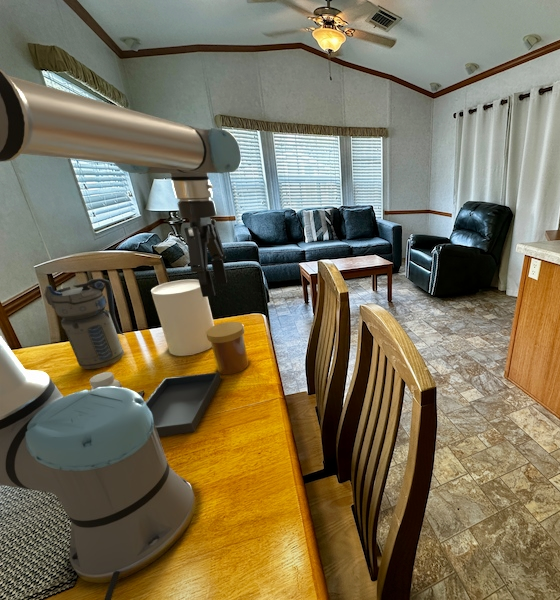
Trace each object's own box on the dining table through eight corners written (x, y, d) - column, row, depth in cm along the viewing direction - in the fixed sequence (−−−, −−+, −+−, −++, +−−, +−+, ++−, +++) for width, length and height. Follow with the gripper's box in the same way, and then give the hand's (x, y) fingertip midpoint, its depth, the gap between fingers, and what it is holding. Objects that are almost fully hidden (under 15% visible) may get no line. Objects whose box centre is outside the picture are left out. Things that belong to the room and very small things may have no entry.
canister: (160, 348, 104) (142, 289, 96) (203, 331, 114) (189, 277, 107) (183, 360, 97) (164, 297, 90) (226, 341, 108) (213, 283, 100)
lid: (239, 341, 87) (238, 335, 86) (202, 344, 85) (200, 338, 84) (247, 326, 95) (246, 320, 94) (213, 328, 93) (212, 323, 93)
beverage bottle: (140, 355, 100) (113, 277, 90) (84, 376, 89) (47, 291, 80) (126, 346, 105) (100, 271, 96) (72, 365, 95) (36, 284, 85)
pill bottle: (128, 414, 76) (114, 378, 72) (98, 423, 73) (82, 387, 69) (130, 401, 80) (117, 367, 76) (102, 409, 77) (87, 374, 73)
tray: (194, 432, 70) (191, 422, 69) (124, 441, 68) (121, 432, 67) (221, 379, 88) (219, 371, 87) (167, 385, 85) (164, 377, 84)
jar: (245, 372, 91) (237, 335, 87) (214, 375, 89) (204, 338, 85) (251, 357, 98) (244, 323, 94) (222, 360, 97) (214, 325, 92)
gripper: (194, 203, 67) (217, 303, 76) (226, 196, 88) (241, 275, 96) (154, 204, 66) (182, 306, 74) (195, 196, 86) (214, 277, 95)
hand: (215, 289), depth 85 cm, fingers open, 9 cm apart
